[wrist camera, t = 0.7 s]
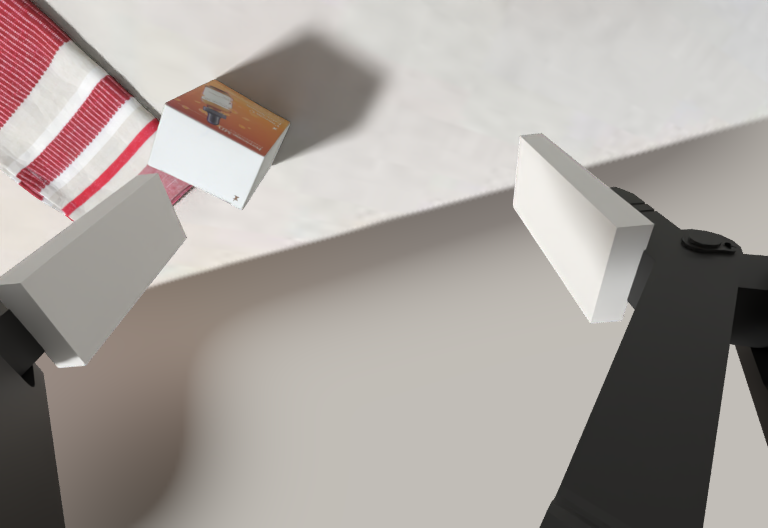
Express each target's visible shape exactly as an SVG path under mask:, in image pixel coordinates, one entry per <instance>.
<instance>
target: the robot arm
mask: <svg viewBox="0 0 768 528" xmlns="http://www.w3.org/2000/svg"><path fill="white" fill-rule="evenodd" d="M513 207H514V209H515V210H516V211H517V213H518V215H519V216H520V218H521V219H522V221H523V222H524V224H525V225H526V227H527V228H528V230H529V231H530V233H531V234H532V236H533V238H534V239H535V240H536V242H537V244H538V245H539V246H540V248H541V250H542V251H543V253H544V254H545V256H546V257H547V259H548V260H549V262H550V263H551V265H552V266H553V268H554V269H555V271H556V272H557V274H558V275H559V277H560V278H561V280H562V281H563V283H564V284H565V286H566V287H567V289H568V290H569V292H570V293H571V295H572V296H573V298H574V299H575V301H576V302H577V304H578V305H579V307H580V308H581V310H582V312H583V313H584V314H585V316H586V318H587V319H588V321H589V322H590V323H591V324H592V323H602V322H603V323H604V322H615V321H622V318H623V316H624V313H625V309H626V307H627V303H628V302H629V303H630V304H631V306H632V307H633V308H634V309H635V311H634V313H633V315H632V318H631V320H630V322H629V325H628V327H627V329H626V332H625V334H624V337H623V339H622V341H621V344H620V346H619V349H618V351H617V353H616V355H615V358H614V360H613V362H612V365H611V368H610V370H609V372H608V375H607V377H606V379H605V382H604V384H603V386H602V388H601V391H600V393H599V396H598V398H597V400H596V403H595V405H594V407H593V410H592V412H591V414H590V417H589V419H588V422H587V424H586V426H585V429H584V431H583V433H582V436H581V438H580V440H579V443H578V445H577V448H576V450H575V452H574V454H573V457H572V459H571V462H570V464H569V467H568V469H567V471H566V473H565V476H564V478H563V480H562V483H561V485H560V488H559V490H558V492H557V494H556V497H555V498H554V500H553V501H552V502H551V504H550V506H549V508H548V510H547V512H546V515H545V517H544V519H543V521H542V523H541V526H540V528H703V523H704V516H705V509H706V503H707V496H708V489H709V482H710V475H711V469H712V462H713V455H714V448H715V441H716V434H717V427H718V421H719V414H720V407H721V400H722V393H723V386H724V380H725V373H726V366H727V359H728V353H729V346H730V344H733V345H735V346H736V350H737V353H738V356H739V359H740V362H741V365H742V368H743V371H744V374H745V378H746V381H747V384H748V387H749V390H750V393H751V396H752V399H753V402H754V405H755V408H756V411H757V415H758V417H759V421H760V424H761V427H762V430H763V433H764V436H765V439H766V442H767V446H768V256H761V255H749V254H743V252H742V249H741V247H740V246H739V245H737V244H736V243H735V242H734V241H732V240H730V239H728V238H726V237H724V236H722V235H719V234H715V233H712V232H707V231H702V230H693V229H687V230H681V229H679V228H678V227H677V226H675V225H674V224H673V223H671V222H670V221H669V220H668V219H666V218H665V217H664V216H662V215H661V214H660V213H658V212H657V211H654V209H653V208H652V207H650V206H649V205H648V204H645V202H644V201H642V200H641V199H639V198H638V197H637V196H636V195H634V194H633V193H630V192H627V191H625V190H623V189H620V188H617V187H612V188H609V187H608V186H606V185H605V184H604V183H603V182H602V181H600V180H599V179H598V178H596V177H595V176H594V175H593V174H592V173H590V172H589V171H588V170H587V169H586V168H584V167H583V166H582V165H581V164H579V163H578V162H577V161H576V160H574V159H573V158H572V157H571V156H569V155H568V154H567V153H566V152H564V151H563V150H562V149H561V148H559V147H558V146H557V145H556V144H555V143H553V142H552V141H551V140H550V139H548V138H547V137H546V136H545V135H543V134H542V133H541V134H531V135H521V136H520V140H519V151H518V161H517V171H516V181H515V191H514V201H513ZM186 238H187V237H186V235H185V232H184V230H183V228H182V226H181V223H180V221H179V219H178V217H177V214H176V212H175V210H174V208H173V206H172V203H171V201H170V199H169V197H168V194H167V192H166V190H165V188H164V186H163V183H162V181H161V179H160V177H159V174H158V173H154V174H144V175H137V176H136V177H134V178H133V179H132V180H130V181H129V182H128V183H126V184H125V185H124V186H122V187H121V188H120V189H118V190H117V191H116V192H114V193H113V194H112V195H110V196H109V197H107V198H106V199H105V200H103V201H102V202H101V203H99V204H98V205H97V206H95V207H94V208H93V209H91V210H90V211H89V212H87V213H86V214H85V215H83V216H82V217H80V218H79V219H78V220H76V221H75V222H74V223H72V224H71V225H70V226H68V227H67V228H66V229H64V230H63V231H62V232H60V233H59V234H57V235H56V236H55V237H53V238H52V239H51V240H49V241H48V242H47V243H45V244H44V245H43V246H41V247H40V248H39V249H37V250H36V251H35V252H33V253H32V254H30V255H29V256H28V257H26V258H25V259H24V260H22V261H21V262H20V263H18V264H17V265H16V266H14V267H13V268H12V269H10V270H9V271H8V272H6V273H5V274H3V275H2V276H1V277H0V528H65V523H64V516H63V508H62V501H61V495H60V487H59V480H58V473H57V466H56V459H55V452H54V445H53V438H52V431H51V424H50V417H49V410H48V402H47V395H46V389H45V382H44V375H43V372H42V371H41V369H40V368H39V367H38V366H37V365H36V364H35V361H36V360H37V359H38V358H39V357H40V356H41V355H42V354H43V353H44V352H45V353H46V354H47V355H48V357H49V358H50V359H51V360H52V361H53V362H54V364H55V365H56V366H57V367H58V368H62V367H74V366H86V365H87V364H88V362H89V361H90V360H91V359H92V357H93V356H94V355H95V354H96V352H97V351H98V350H99V348H100V347H101V346H102V345H103V343H104V342H105V341H106V340H107V338H108V337H109V336H110V334H111V333H112V332H113V331H114V329H115V328H116V327H117V326H118V324H119V323H120V321H122V319H123V318H124V317H125V315H126V314H127V313H128V312H129V310H130V309H131V308H132V307H133V305H134V304H135V303H136V302H137V300H138V299H139V298H140V296H141V295H142V294H143V293H144V291H145V290H146V289H147V288H148V286H149V285H150V284H151V283H152V281H153V280H154V279H155V278H156V276H157V275H158V274H159V273H160V271H161V270H162V269H163V267H164V266H165V265H166V264H167V262H168V261H169V260H170V259H171V257H172V256H173V255H174V254H175V252H176V251H177V250H178V248H179V247H180V246H181V245H182V243H183V242H184V241H185V240H186Z"/></svg>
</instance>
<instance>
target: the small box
mask: <svg viewBox="0 0 768 528" xmlns="http://www.w3.org/2000/svg"><path fill="white" fill-rule="evenodd" d="M290 124H291V123H290V122H289V121H287V120H285V119H283V118H282V117H280V116H278V115H276V114H274V113H272V112H270V111H269V110H267V109H265V108H263V107H262V106H260V105H258V104H257V103H255V102H253V101H252V100H250V99H248V98H246V97H245V96H243V95H241V94H240V93H238V92H236V91H234V90H233V89H231V88H229V87H228V86H226V85H224V84H222V83H221V82H219V81H217V80H212V81H210V82H208V83H205V84H203V85H201V86H199V87H197V88H195V89H193V90H191V91H189V92H187V93H185V94H183V95H181V96H179V97H177V98H175V99H172V100H170V101H168V102H166V103H165V105H164V108H163V112H162V115H161V119H160V122H159V125H158V129H157V132H156V136H155V139H154V143H153V146H152V150H151V153H150V157H149V160H148V165H149V166H151V167H153V168H156V169H158V170H160V171H163V172H165V173H167V174H169V175H171V176H174V177H176V178H178V179H180V180H182V181H184V182H186V183H188V184H190V185H192V186H195V187H197V188H199V189H201V190H203V191H205V192H207V193H209V194H211V195H213V196H215V197H217V198H219V199H221V200H223V201H225V202H227V203H229V204H231V205H232V206H234V207H236V208H238V209H240V210H243V209H244V207H245V206H246V204H247V203H248V201H249V200H250V198H251V197H252V195H253V193H254V192H255V190H256V189H257V187H258V185H259V184H260V182H261V181H262V179H263V178H264V176H265V175H266V173H267V172H268V170H269V169H270V167H271V165H272V163H273V161H274V159H275V157H276V154H277V152H278V150H279V148H280V146H281V144H282V141H283V139H284V137H285V135H286V133H287V131H288V128H289V126H290Z"/></svg>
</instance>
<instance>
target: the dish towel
mask: <svg viewBox="0 0 768 528" xmlns="http://www.w3.org/2000/svg"><path fill="white" fill-rule="evenodd" d="M158 125H159V121H158V120H157V119H156V118H155V117H154V116H153V115H152V114H151V113H150V112H149V111H148V110H146V109H145V108H144V107H143V106H142V105H141V104H140V103H139V102H138V101H137V100H136V99H135V98H134V97H133V96H132V95H131V94H130V93H129V92H128V91H126V90H125V89H124V88H123V87H122V86H121V85H120V84H119V83H118V82H117V81H116V80H115V79H114V78H113V77H112V76H111V75H110V74H108V73H107V72H106V71H105V70H104V69H103V68H101V67H100V66H99V65H98V64H97V63H96V62H94V61H93V60H92V59H91V58H90V57H89V56H88V55H87V54H86V53H85V52H84V51H83V50H82V49H80V48H79V47H78V46H77V45H76V44H75V43H74V42H73V41H72V39H71V38H70V37H69V36H68V35H66V34H65V33H64V32H63V31H62V30H61V29H60V28H59V27H58V26H57V25H56V24H55V23H54V22H53V21H52V20H51V19H50V18H49V17H48V16H47V15H45V14H44V13H43V12H42V11H41V10H40V9H39V8H37V7H36V6H35V5H34V4H33V3H32V2H31V1H30V0H0V170H1V171H2V172H4V173H5V174H6V175H7V176H9V177H10V178H11V179H13V180H14V181H15V182H16V183H18V184H19V185H20V186H22V187H23V188H24V189H25V190H27V191H28V192H29V193H31V194H32V195H33V196H35V197H36V198H38V199H39V200H41V201H42V202H43V203H45V204H47V205H49V206H50V207H52V208H54V209H56V210H57V211H59V212H61V213H62V214H64V215H65V216H67V217H68V218H69V219H70V220H72V221H73V222H75V221H76V220H78V219H79V218H80V217H82V216H83V215H85V214H86V213H87V212H89V211H90V210H91V209H93V208H94V207H95V206H97V205H98V204H99V203H101V202H102V201H103V200H105V199H106V198H107V197H109V196H110V195H112V194H113V193H114V192H116V191H117V190H118V189H120V188H121V187H122V186H124V185H125V184H126V183H128V182H129V181H130V180H132V179H133V178H134V177H136V176H137V175H144V174H154V173H158V174H159V177H160V179H161V181H162V183H163V186H164V188H165V190H166V192H167V194H168V197H169V199H170V201H171V203H172V205H173V204H174V203H175V202H176V201H177V200H178V199H179V198H180V197H181V196H182V195H184V194H185V193H186V192H187V191H188V190H189V189H190V188H191V187H192V185H190V184H188V183H186V182H184V181H182V180H180V179H178V178H176V177H174V176H171V175H169V174H167V173H165V172H163V171H160V170H158V169H156V168H153V167H151V166H149V165H148V160H149V157H150V153H151V150H152V146H153V143H154V139H155V136H156V132H157V129H158Z"/></svg>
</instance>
